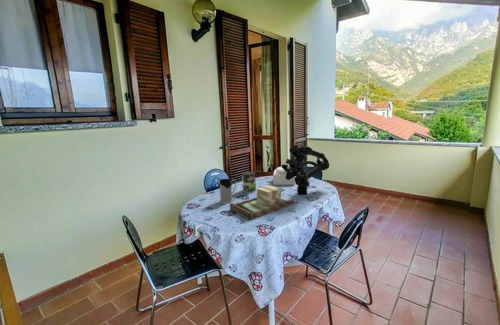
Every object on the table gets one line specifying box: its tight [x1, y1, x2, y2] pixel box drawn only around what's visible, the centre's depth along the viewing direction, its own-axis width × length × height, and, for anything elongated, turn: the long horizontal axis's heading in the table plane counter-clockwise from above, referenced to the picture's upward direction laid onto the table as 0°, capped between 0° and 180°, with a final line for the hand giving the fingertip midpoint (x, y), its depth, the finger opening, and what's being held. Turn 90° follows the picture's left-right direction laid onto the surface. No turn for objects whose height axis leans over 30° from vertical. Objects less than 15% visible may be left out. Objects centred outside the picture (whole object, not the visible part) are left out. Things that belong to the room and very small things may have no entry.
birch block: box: [256, 184, 282, 206], centre depth 160 cm, size 11×11×9 cm
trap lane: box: [229, 196, 295, 221], centre depth 158 cm, size 36×20×4 cm, turn 126°
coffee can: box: [241, 171, 257, 194], centre depth 190 cm, size 10×10×14 cm
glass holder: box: [219, 178, 237, 204], centre depth 171 cm, size 9×14×15 cm, turn 137°
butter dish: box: [272, 163, 296, 186], centre depth 209 cm, size 18×18×16 cm
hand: (287, 179), depth 168 cm, fingers closed
